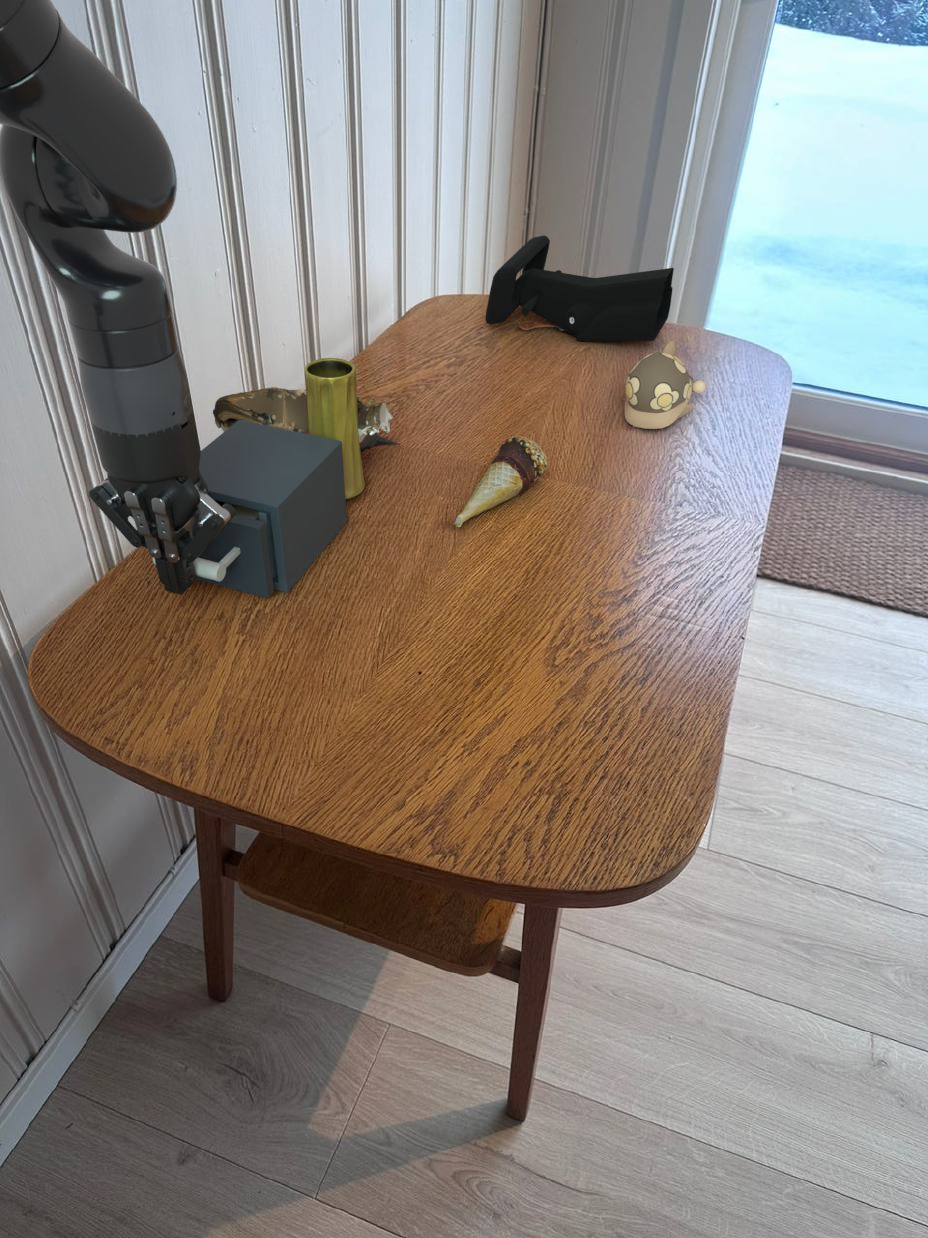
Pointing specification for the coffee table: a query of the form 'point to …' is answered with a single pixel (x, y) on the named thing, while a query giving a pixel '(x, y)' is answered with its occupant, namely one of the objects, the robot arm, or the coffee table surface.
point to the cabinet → (281, 488)
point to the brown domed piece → (659, 390)
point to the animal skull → (297, 413)
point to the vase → (336, 413)
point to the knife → (538, 325)
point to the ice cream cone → (506, 476)
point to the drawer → (239, 555)
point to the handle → (581, 298)
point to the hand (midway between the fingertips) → (180, 587)
